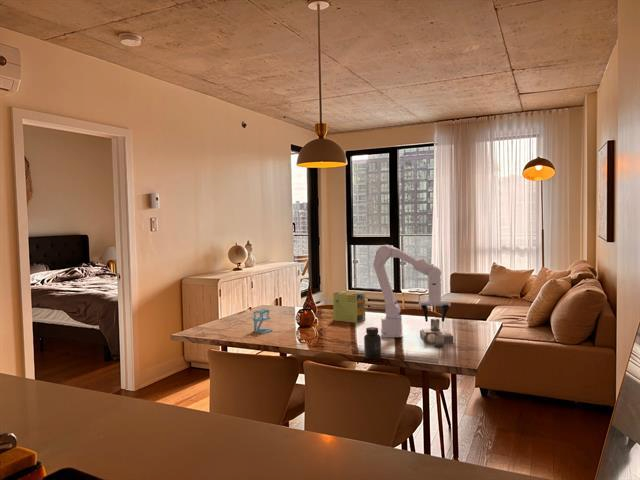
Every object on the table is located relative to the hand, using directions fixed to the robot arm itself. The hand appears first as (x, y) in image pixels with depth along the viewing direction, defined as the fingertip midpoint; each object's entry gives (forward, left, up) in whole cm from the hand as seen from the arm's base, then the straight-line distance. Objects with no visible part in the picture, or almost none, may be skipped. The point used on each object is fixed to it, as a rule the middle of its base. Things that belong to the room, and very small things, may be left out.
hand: (434, 321), depth 230 cm
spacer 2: (-1, -16, -8) cm, 18 cm away
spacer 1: (0, -1, -4) cm, 4 cm away
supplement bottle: (-31, -33, -8) cm, 46 cm away
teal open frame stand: (-85, +15, -8) cm, 87 cm away
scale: (0, -4, -8) cm, 9 cm away
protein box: (-40, +44, -8) cm, 60 cm away
